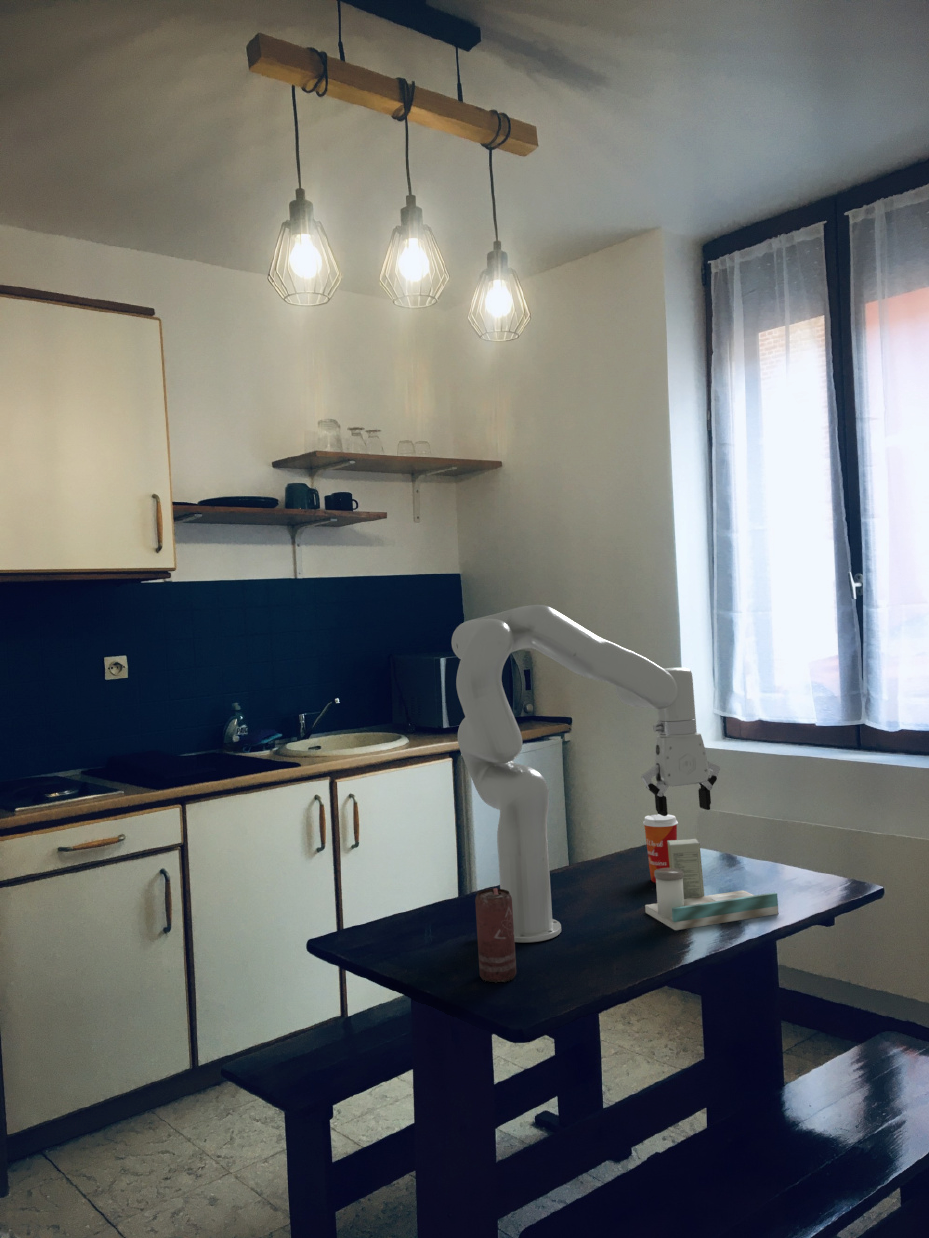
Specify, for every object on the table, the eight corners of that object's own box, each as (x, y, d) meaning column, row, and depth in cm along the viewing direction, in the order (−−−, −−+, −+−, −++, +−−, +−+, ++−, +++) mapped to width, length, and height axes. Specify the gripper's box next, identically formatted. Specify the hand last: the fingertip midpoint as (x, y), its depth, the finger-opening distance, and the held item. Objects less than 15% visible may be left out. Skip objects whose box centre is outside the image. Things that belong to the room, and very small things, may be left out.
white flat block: (675, 930, 174) (673, 909, 174) (645, 912, 185) (644, 892, 185) (778, 913, 180) (777, 893, 180) (743, 897, 191) (742, 878, 191)
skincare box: (701, 897, 193) (698, 838, 193) (705, 903, 189) (701, 842, 189) (670, 898, 194) (666, 839, 194) (673, 904, 189) (669, 844, 189)
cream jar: (665, 919, 176) (662, 876, 176) (652, 911, 181) (649, 869, 181) (691, 915, 177) (688, 872, 177) (677, 907, 182) (674, 866, 182)
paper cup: (640, 878, 210) (636, 816, 210) (670, 873, 212) (666, 812, 212) (657, 887, 202) (653, 822, 203) (688, 882, 205) (684, 818, 205)
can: (514, 968, 159) (509, 885, 159) (518, 982, 153) (512, 896, 153) (479, 970, 159) (474, 888, 159) (481, 985, 153) (475, 899, 153)
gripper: (647, 734, 186) (654, 820, 185) (724, 725, 190) (731, 809, 190) (630, 730, 193) (637, 814, 193) (705, 722, 197) (711, 803, 197)
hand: (683, 811), depth 191 cm, fingers open, 9 cm apart
